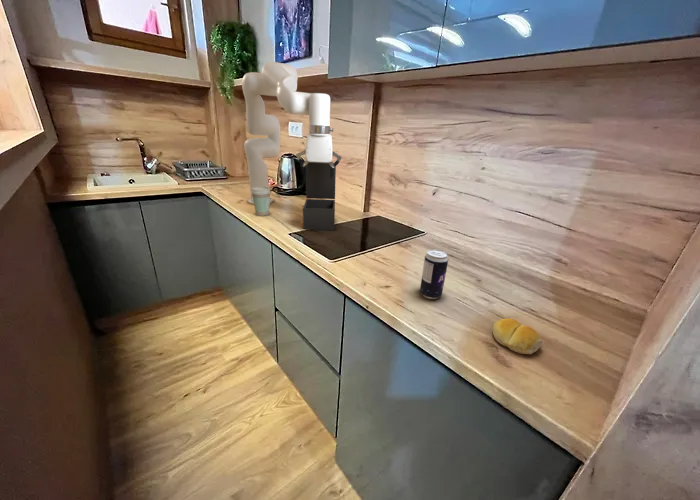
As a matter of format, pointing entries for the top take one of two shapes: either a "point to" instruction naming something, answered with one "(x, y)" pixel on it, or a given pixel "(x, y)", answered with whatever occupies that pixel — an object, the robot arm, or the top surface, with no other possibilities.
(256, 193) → the coffee cup
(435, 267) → the beverage can
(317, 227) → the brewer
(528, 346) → the bread roll
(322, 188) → the lid
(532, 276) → the top surface
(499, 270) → the top surface
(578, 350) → the top surface
